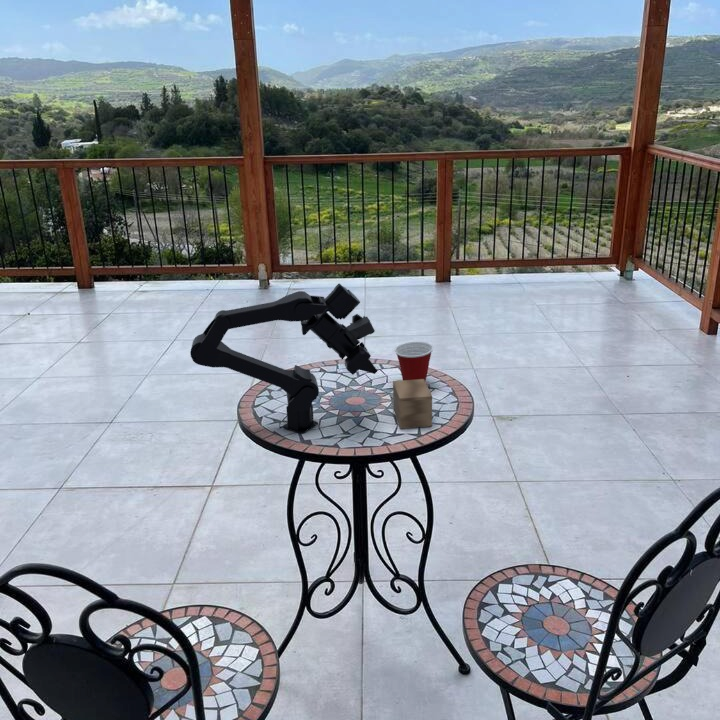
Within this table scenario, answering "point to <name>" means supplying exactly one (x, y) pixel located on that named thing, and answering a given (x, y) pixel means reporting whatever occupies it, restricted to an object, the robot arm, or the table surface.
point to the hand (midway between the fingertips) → (375, 372)
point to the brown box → (412, 403)
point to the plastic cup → (414, 359)
